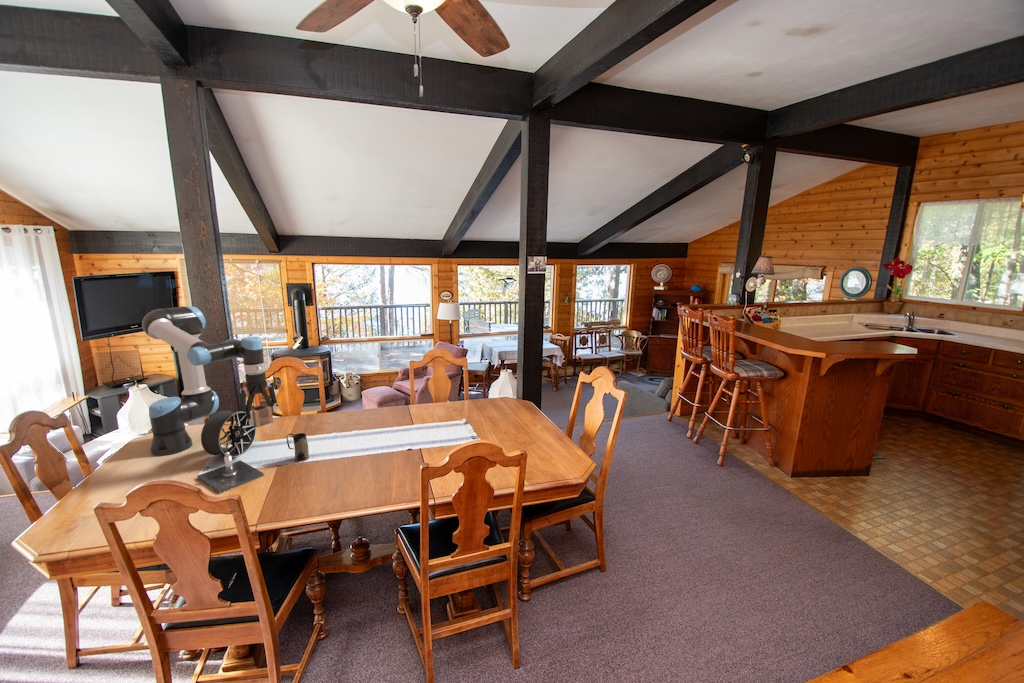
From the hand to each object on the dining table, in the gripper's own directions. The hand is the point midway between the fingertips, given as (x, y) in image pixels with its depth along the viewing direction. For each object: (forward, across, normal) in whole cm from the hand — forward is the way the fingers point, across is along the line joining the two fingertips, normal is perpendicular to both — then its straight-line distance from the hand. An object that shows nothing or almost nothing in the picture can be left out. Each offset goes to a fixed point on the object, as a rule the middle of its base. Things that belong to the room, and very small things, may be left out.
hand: (260, 422), depth 187 cm
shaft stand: (+15, -18, -10) cm, 25 cm away
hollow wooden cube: (0, 0, 0) cm, 0 cm away
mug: (+15, +6, -18) cm, 24 cm away
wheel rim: (+16, -8, +12) cm, 21 cm away
